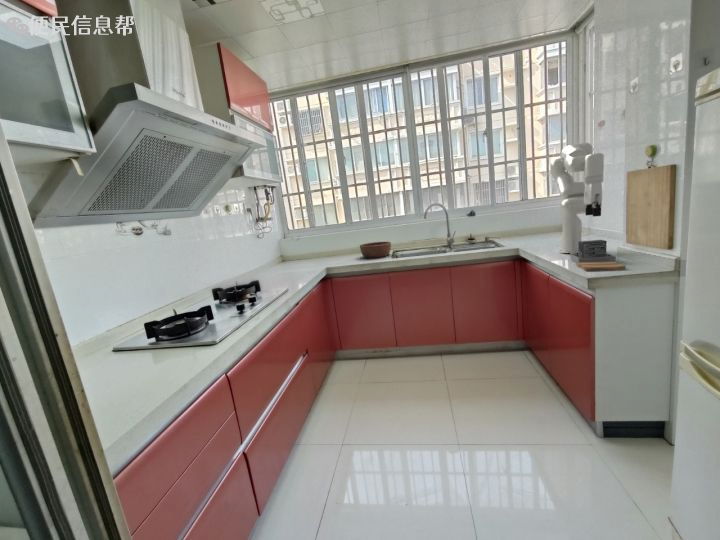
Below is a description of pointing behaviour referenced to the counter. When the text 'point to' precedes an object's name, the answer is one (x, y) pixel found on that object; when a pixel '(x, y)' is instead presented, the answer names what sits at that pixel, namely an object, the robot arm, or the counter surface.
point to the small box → (592, 248)
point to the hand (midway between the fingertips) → (592, 215)
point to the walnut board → (600, 266)
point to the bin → (593, 258)
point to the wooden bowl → (375, 249)
